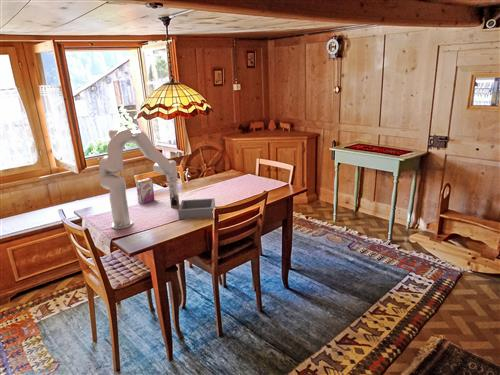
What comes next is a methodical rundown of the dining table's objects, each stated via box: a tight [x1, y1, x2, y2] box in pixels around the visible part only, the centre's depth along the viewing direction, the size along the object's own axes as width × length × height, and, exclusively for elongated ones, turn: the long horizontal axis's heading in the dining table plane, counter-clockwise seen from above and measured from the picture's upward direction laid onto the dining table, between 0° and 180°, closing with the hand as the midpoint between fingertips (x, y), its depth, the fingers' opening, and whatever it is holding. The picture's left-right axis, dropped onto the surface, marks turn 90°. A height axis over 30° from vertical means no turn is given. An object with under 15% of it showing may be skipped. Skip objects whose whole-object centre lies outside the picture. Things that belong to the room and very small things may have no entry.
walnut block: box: [169, 194, 180, 209], centre depth 250 cm, size 5×5×9 cm
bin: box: [177, 198, 216, 220], centre depth 236 cm, size 20×22×6 cm
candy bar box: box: [135, 177, 155, 205], centre depth 263 cm, size 11×5×16 cm, turn 141°
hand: (175, 203), depth 251 cm, fingers closed on walnut block, 5 cm apart
